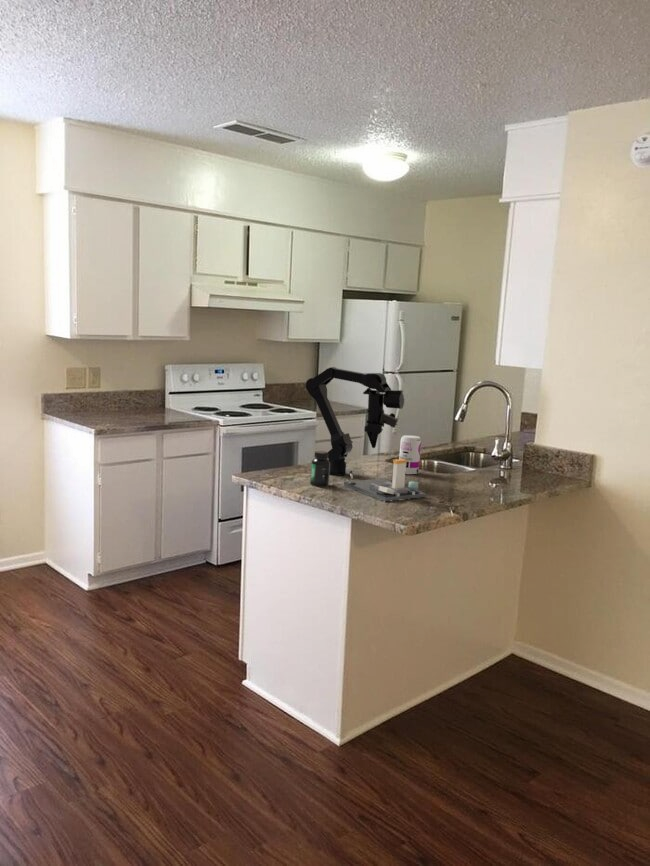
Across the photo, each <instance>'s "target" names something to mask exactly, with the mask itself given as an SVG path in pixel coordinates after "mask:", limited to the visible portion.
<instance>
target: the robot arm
mask: <svg viewBox="0 0 650 866" xmlns="http://www.w3.org/2000/svg"><path fill="white" fill-rule="evenodd" d="M333 379H335V380H337V379H338V380H340V381H345V382H346V381H347V382H352V383H357V384H361V385H362V386H364V387H366V389H365V391H363V393H362V394H363V395H368V399H367V402H368V403H367V411H366V412H367V419H366V424H364V432H366V435H367V437H368V440H369V442H370V445H371V448H373V449H376V447H377V443H378V439H379V434H381V433H382V432H383V430H384V429H383V428H385V425H386V426H387V425H388V426H390V427H391V428H395V427H396V425H397V423H398V421H399V418H397V417H396V414H395V413H393V412H391V413H390V414H388V413H385V410H384V406H385V407H386V409H387V408H389V409H397V410H398V409H401V410H402V409H403V408H404V405H405V397H404V394H403V390H401V389H397V390H394V389H392V388H391V387H390V385H389V384H388V382H387V377H386V376H385V374H383V373H381V372H364V373H363V372H360V371H359V372H358V371H353V370H348V369H342V368H339V367H338V368H337V367H335V366H331V367H327V368H326V369H324V370H323V371H322V372H320V373H319V374H318V375H317V374H316V376H314V377H311V378H308V379H307V380H306V382H305V389H306V391H307V393H308V394H309V396H310V397H311V398H312V399H313V400H314V401H315V402H316V404H317V407H318V409H319V412H320V414H321V416H322V418H323V421H324V423H325V425H326V428H327V431H328V433H329V434H330V445H331V449H330V450H329V451H327V452H328V458H327V459H328V460H329V461H330V475H331V476H333V475H334V476H344V475H345V474H346V473H347V461H346V458H347V457H348V454H349V453H351V452H352V450H353V443H354V442H353V441H352V439H351V436H350V433H349V432H347V433H344V431H343V430H342V428H341V425H340V424H339V422H338V418H337V417H336V415H335V412H334V409H333V407H332V406H331V402H330V401H329V397H328V387H327V385H328V384H330V382H331V381H332V380H333Z"/></svg>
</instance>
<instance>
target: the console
mask: <svg viewBox="0 0 650 866" xmlns="http://www.w3.org/2000/svg"><path fill="white" fill-rule="evenodd" d="M345 486H346V487H345ZM379 486H383V487H387V488H388V487H389V486H392V480H390V479H387V478H383V477H382V478H373V479H361V480H359V479H358V480H349V481H348V480H347V481H343V487H345V488H347V489H350V488H351V490H353V489H354V490H353V491H355V490H357V491H356V492H358V491H359V492H358V493H360V492H362V493H361V494H363V493H365V494H367V495H366V496H368V495H370V496H373V497H375V498H374V499H376V498H378V499H381V500H383V501H390V500H399V499H408V500H410V499H409V498H417V499H421V498H420V497H425V498H426V492H422V491H421V490H419V489H418V490H411V489H408V486H406V485H404V488H407V489H408V493H401V494H400V493H397V492H395V491H394V494H390V493H386V492H383V491H380V490H378V489H379ZM365 494H364V495H365ZM370 496H369V497H370ZM373 497H372V498H373ZM378 499H377V500H378ZM381 500H380V501H381ZM383 501H382V502H383ZM399 501H400V500H399Z"/></svg>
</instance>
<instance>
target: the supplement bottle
mask: <svg viewBox="0 0 650 866" xmlns="http://www.w3.org/2000/svg"><path fill="white" fill-rule="evenodd" d="M328 452H329V451H324V450H316V451H314V455H313V457H314V458H313V459H312V460H311V462H310V463H311V464H310V475H309V476H310V478H309V480H310V481H309V484H310V485H311V486H312V487H316V488H317V487H318V488H319V487H320V488H323V487H324V488H325V487H326V488H327V487H328V486H329V484H330V475H331V474H330V461H329V459H327V458H328Z"/></svg>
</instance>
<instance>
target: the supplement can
mask: <svg viewBox="0 0 650 866" xmlns="http://www.w3.org/2000/svg"><path fill="white" fill-rule="evenodd" d="M399 445H400V446H399V456H398V459H405V460H407V463H406V471H405V474H417V473H418V474H419V472H420V470H419V469H420V462H421V461H420V460H421V448H422V439H421V437H420V436H418V435H412V434H411V435H410V434H404V435H402V436H401V438H400V443H399ZM418 474H417V475H418Z"/></svg>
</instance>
